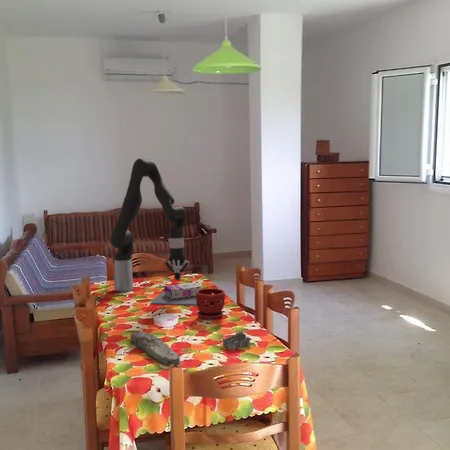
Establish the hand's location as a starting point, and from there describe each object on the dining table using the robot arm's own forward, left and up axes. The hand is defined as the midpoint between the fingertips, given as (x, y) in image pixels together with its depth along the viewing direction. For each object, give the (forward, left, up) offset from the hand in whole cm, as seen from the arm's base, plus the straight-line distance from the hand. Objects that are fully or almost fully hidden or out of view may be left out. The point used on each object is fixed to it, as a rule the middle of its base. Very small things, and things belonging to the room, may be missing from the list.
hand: (177, 279), depth 274 cm
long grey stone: (+9, -69, -11) cm, 71 cm away
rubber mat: (0, +1, -10) cm, 11 cm away
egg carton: (+39, -60, -11) cm, 72 cm away
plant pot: (+22, -25, -11) cm, 35 cm away
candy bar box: (-6, +1, -8) cm, 10 cm away
